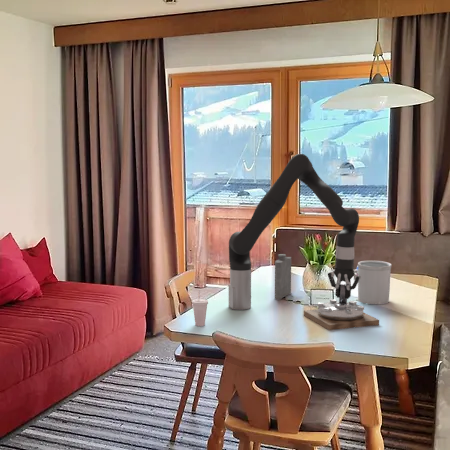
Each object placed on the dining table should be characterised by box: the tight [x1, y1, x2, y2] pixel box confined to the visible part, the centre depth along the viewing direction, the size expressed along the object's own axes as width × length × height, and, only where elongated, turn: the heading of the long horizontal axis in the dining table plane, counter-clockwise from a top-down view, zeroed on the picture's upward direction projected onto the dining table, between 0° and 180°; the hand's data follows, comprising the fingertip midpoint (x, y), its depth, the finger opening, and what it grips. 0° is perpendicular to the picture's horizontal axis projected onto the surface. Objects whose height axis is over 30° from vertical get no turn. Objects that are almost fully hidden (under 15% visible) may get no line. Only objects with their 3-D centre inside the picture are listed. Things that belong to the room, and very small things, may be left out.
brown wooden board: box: [303, 308, 380, 331], centre depth 234 cm, size 22×22×2 cm
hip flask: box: [274, 253, 292, 301], centre depth 274 cm, size 16×4×20 cm, turn 154°
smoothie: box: [191, 289, 209, 327], centre depth 227 cm, size 6×6×14 cm
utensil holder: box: [357, 260, 392, 305], centre depth 264 cm, size 15×15×18 cm
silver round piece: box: [317, 283, 365, 320], centre depth 233 cm, size 18×18×11 cm
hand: (342, 297), depth 240 cm, fingers closed on silver round piece, 3 cm apart
